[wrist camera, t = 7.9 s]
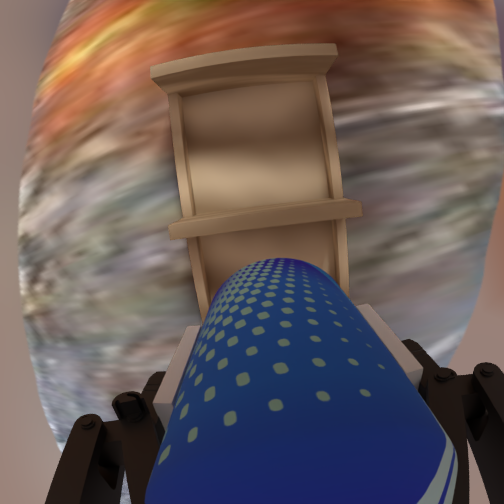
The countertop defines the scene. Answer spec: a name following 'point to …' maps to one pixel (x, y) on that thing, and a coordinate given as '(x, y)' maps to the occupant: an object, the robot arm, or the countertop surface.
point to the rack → (256, 161)
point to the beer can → (297, 404)
